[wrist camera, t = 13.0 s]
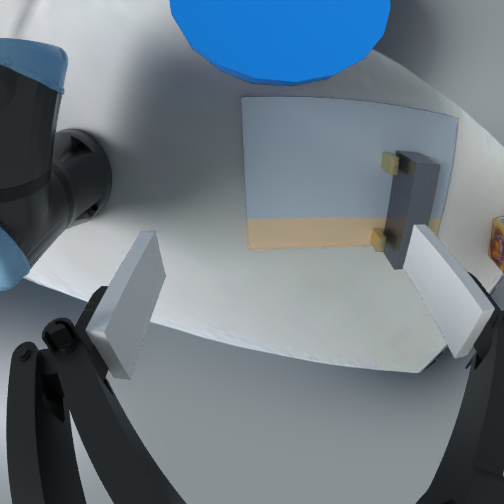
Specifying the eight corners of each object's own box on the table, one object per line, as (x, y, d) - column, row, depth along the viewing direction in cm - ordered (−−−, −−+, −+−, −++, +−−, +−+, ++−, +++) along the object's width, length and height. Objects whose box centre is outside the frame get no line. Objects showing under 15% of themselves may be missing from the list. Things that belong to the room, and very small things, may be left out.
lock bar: (395, 150, 36) (416, 162, 31) (418, 152, 36) (440, 165, 31) (380, 247, 44) (394, 269, 39) (401, 247, 44) (416, 268, 39)
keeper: (369, 241, 44) (376, 251, 41) (382, 151, 36) (391, 157, 33) (412, 240, 44) (420, 250, 41) (428, 156, 36) (439, 162, 33)
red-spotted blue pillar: (323, 48, 30) (430, 12, 9) (265, 101, 34) (287, 131, 13) (261, -6, 26) (274, -115, 5) (201, 48, 30) (119, 1, 9)
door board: (248, 245, 45) (248, 249, 45) (241, 97, 34) (241, 97, 33) (431, 241, 45) (434, 244, 44) (454, 117, 33) (458, 118, 32)
